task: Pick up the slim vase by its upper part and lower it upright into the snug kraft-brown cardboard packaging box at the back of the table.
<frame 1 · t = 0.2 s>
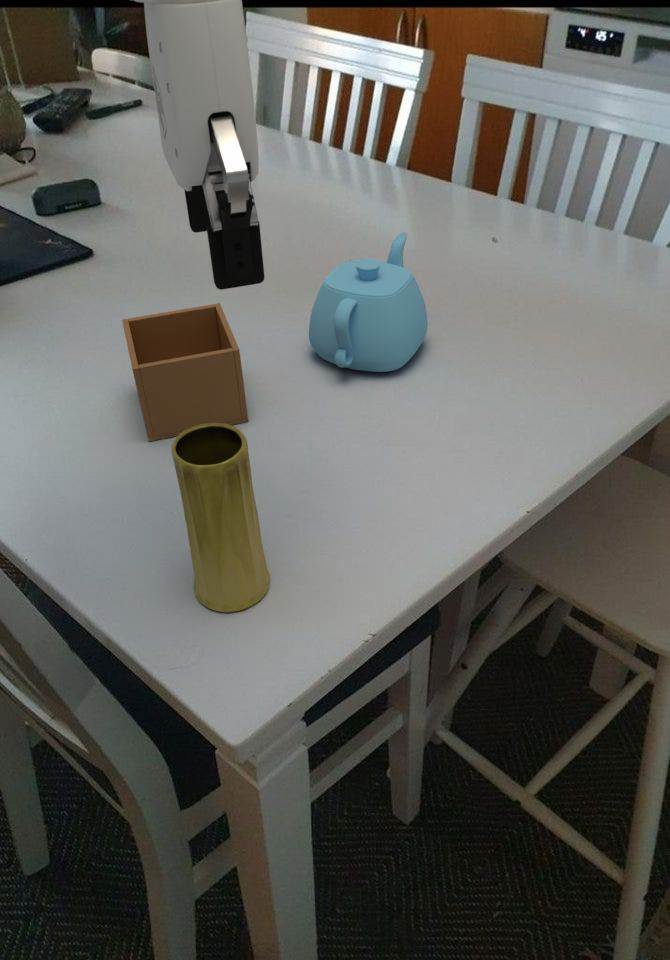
hand: (225, 254, 56), 25 cm above the table, tool pointing down, fingers open, 9 cm apart
teapot: (372, 347, 94), on the table
package: (191, 405, 86), on the table
vase: (232, 586, 65), on the table
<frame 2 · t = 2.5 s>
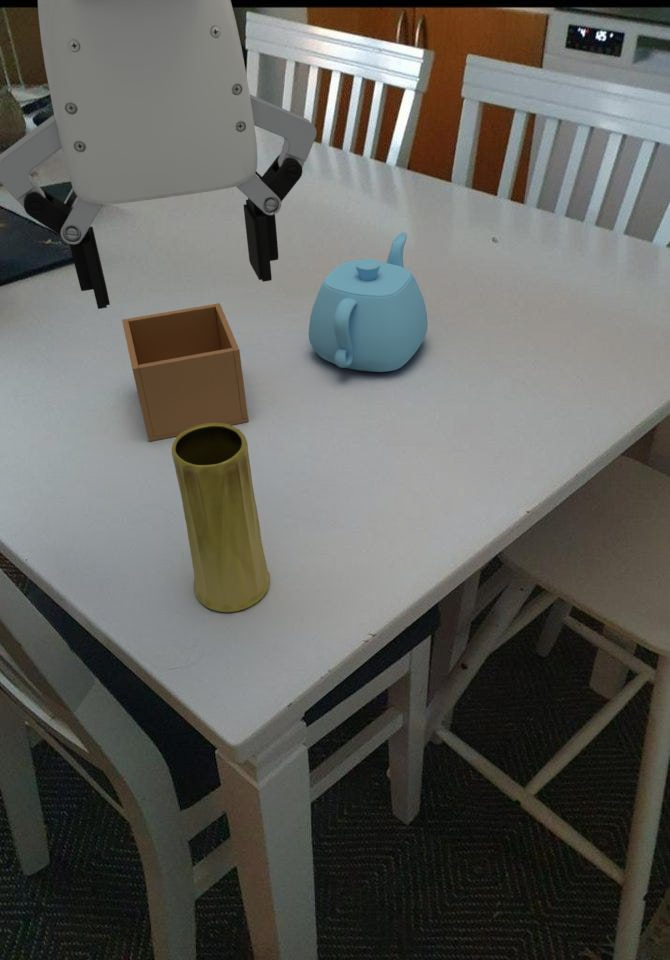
hand: (183, 285, 49), 26 cm above the table, tool pointing down, fingers open, 9 cm apart
nothing on the table moved.
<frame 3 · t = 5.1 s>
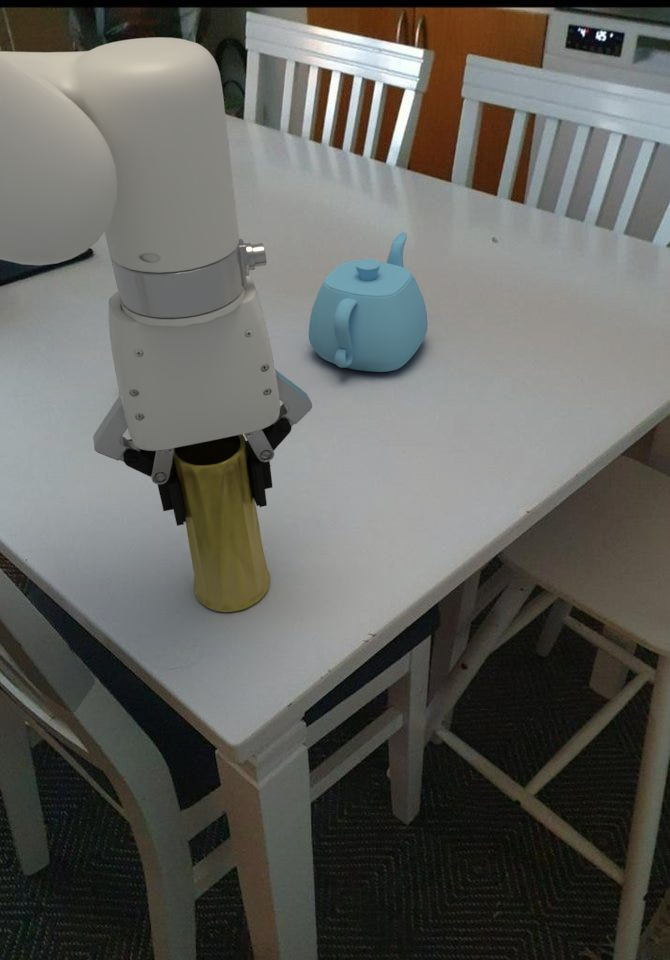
hand: (218, 502, 60), 9 cm above the table, tool pointing down, fingers closed on vase, 5 cm apart
vase: (232, 586, 65), on the table, touching gripper
everything else where it was.
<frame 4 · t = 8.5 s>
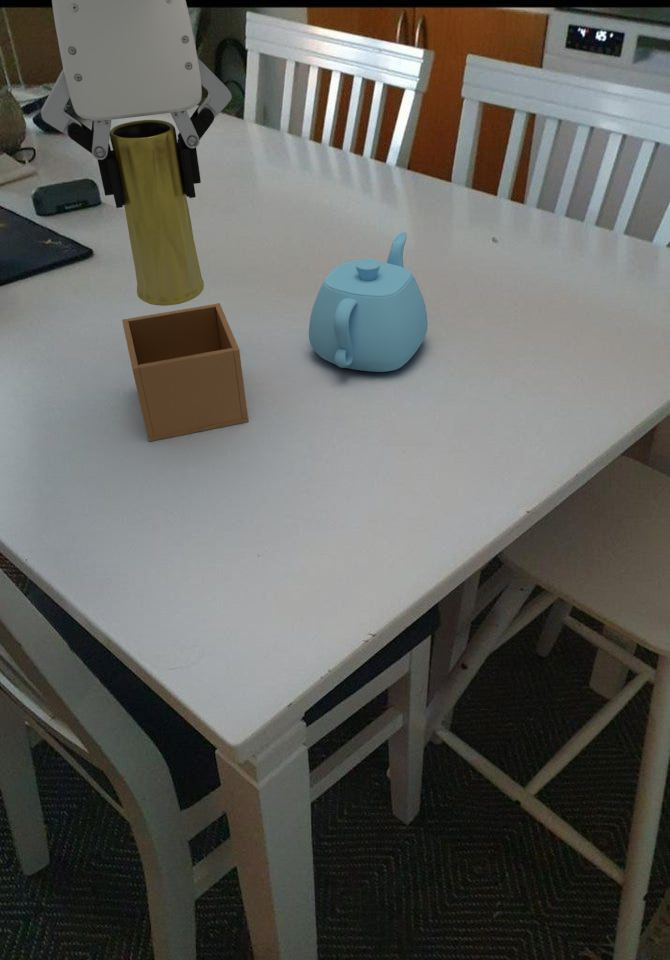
hand: (154, 195, 69), 23 cm above the table, tool pointing down, fingers closed on vase, 5 cm apart
vase: (171, 293, 75), point 14 cm above the table, touching gripper
everything else where it was.
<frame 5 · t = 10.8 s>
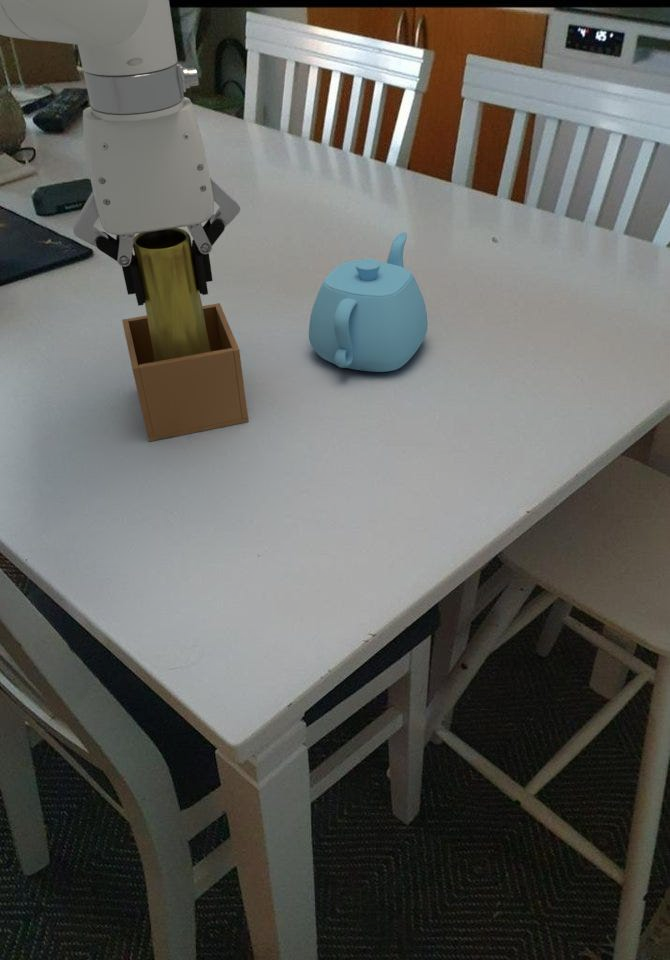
hand: (171, 292, 77), 13 cm above the table, tool pointing down, fingers closed on vase, 5 cm apart
vase: (185, 373, 83), point 4 cm above the table, touching gripper
everything else where it was.
when the fingers open (9 cm above the table, at t = 12.2 s): vase stays where it is, resting on package.
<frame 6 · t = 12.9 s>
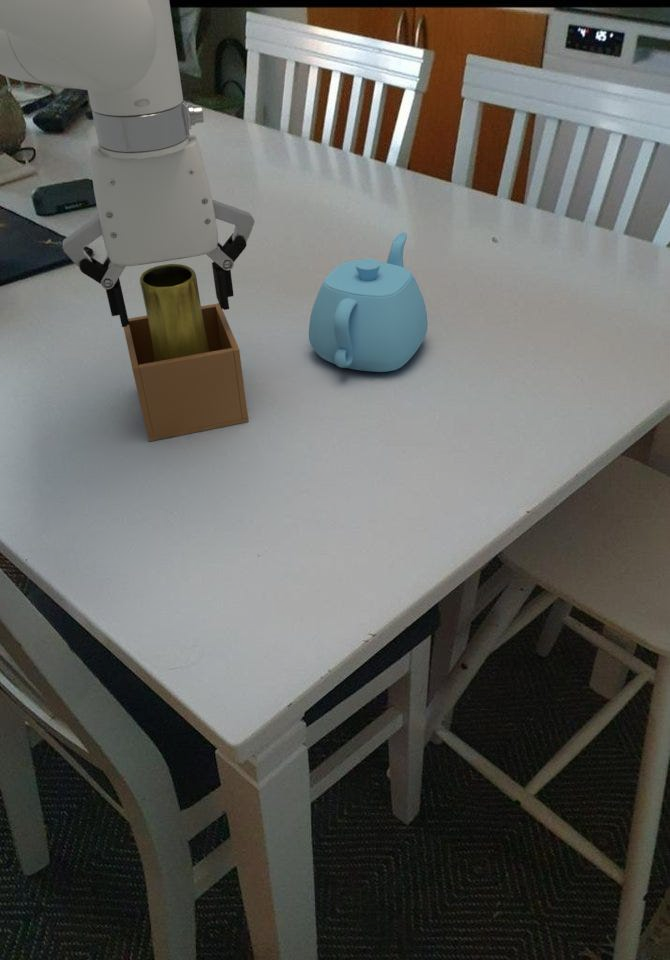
hand: (174, 312, 79), 11 cm above the table, tool pointing down, fingers open, 9 cm apart
vase: (190, 403, 85), resting on package
everything else where it was.
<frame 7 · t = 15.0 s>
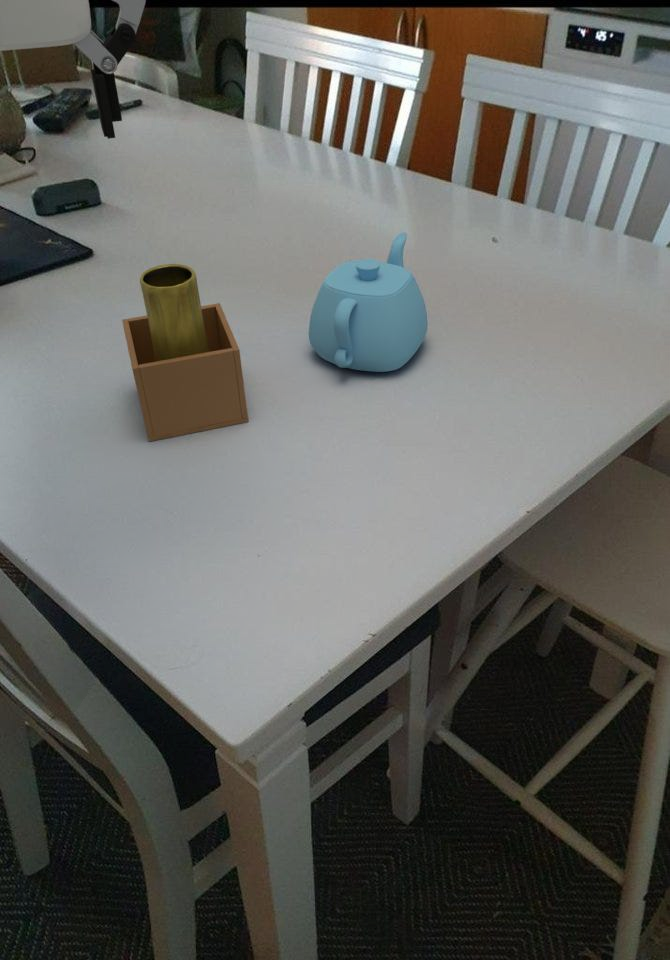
hand: (37, 140, 56), 31 cm above the table, tool pointing down, fingers open, 9 cm apart
nothing on the table moved.
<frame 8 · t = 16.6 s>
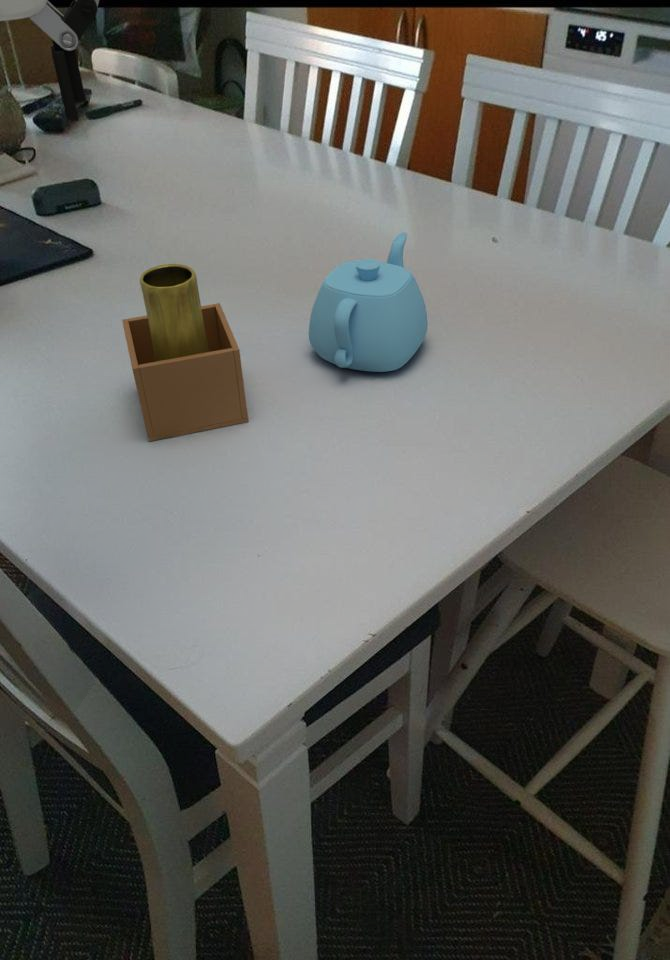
nothing on the table moved.
at the end: vase 0.1 cm off-centre in the package, point 0.3 cm above the package's base; vase tilted 0°; the gripper is holding nothing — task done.
